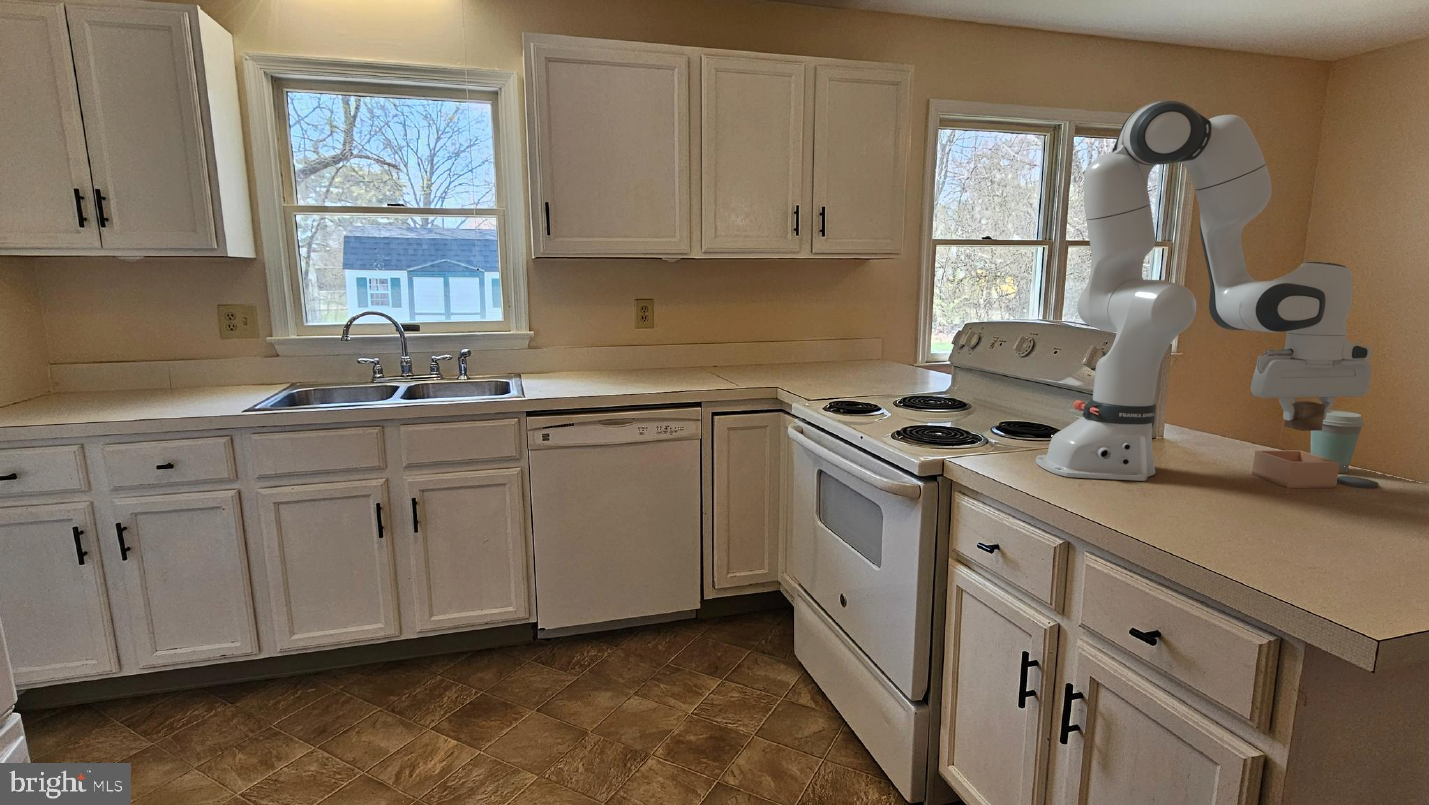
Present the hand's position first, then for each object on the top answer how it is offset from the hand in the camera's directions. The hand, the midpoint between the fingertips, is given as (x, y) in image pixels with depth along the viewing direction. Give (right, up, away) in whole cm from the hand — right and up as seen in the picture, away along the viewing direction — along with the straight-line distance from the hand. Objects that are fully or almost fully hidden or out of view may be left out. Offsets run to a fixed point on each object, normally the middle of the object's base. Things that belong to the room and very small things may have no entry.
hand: (1304, 419), depth 138 cm
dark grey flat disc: (+11, -13, +1) cm, 17 cm away
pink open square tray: (0, -12, +2) cm, 12 cm away
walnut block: (0, -2, 0) cm, 2 cm away
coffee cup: (+14, -11, +10) cm, 20 cm away
